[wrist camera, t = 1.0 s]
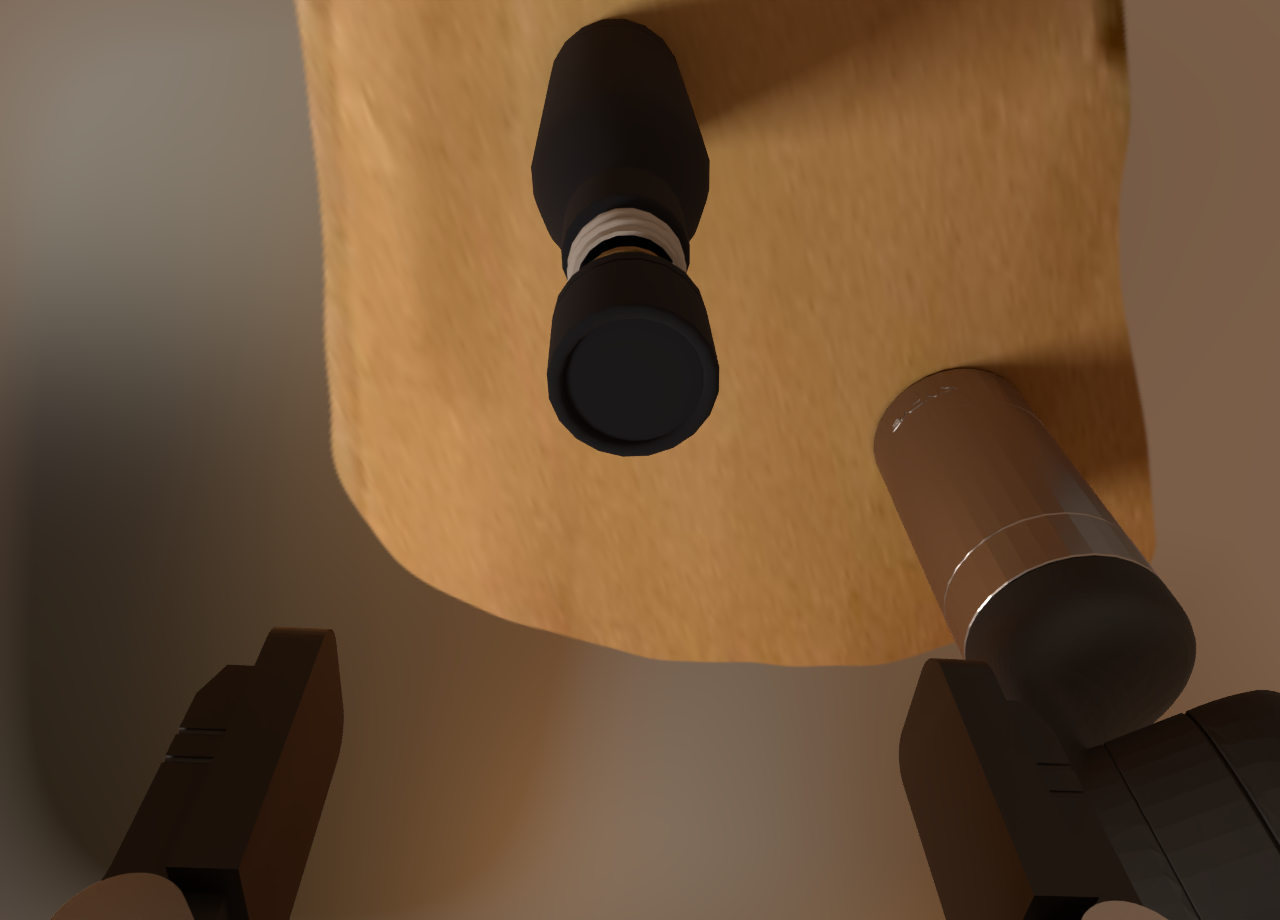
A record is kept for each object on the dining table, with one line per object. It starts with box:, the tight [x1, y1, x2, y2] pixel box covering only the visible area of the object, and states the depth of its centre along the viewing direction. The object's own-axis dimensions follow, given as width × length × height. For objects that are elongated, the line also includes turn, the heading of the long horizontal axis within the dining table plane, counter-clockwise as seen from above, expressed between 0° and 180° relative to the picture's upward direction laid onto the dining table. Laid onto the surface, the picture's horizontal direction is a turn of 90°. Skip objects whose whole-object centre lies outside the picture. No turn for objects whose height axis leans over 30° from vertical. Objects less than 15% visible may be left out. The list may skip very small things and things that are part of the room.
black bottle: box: [531, 19, 719, 457], centre depth 34 cm, size 6×6×30 cm
